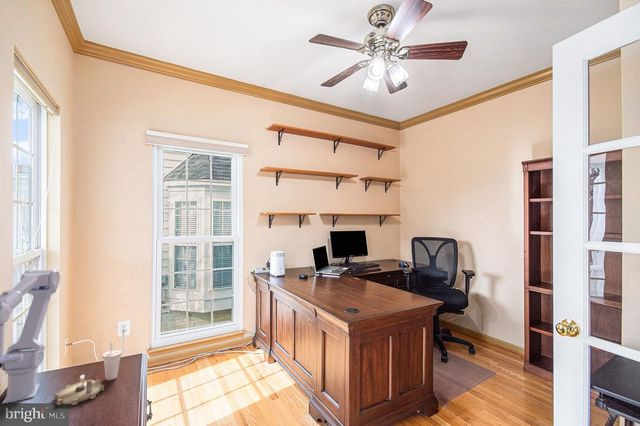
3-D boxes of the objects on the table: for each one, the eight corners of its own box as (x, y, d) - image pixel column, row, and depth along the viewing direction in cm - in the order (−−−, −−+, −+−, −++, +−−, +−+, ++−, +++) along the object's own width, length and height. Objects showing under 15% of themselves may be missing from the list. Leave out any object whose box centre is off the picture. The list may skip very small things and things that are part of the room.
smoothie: (100, 377, 120) (101, 341, 121) (119, 371, 125) (120, 337, 125) (102, 383, 116) (104, 347, 116) (122, 378, 120) (123, 342, 120)
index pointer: (80, 381, 117) (80, 375, 117) (84, 380, 117) (84, 374, 118) (79, 385, 114) (80, 378, 114) (83, 384, 115) (84, 378, 115)
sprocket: (44, 400, 104) (45, 384, 104) (86, 380, 117) (87, 366, 117) (71, 409, 100) (72, 392, 100) (112, 387, 113) (113, 372, 113)
